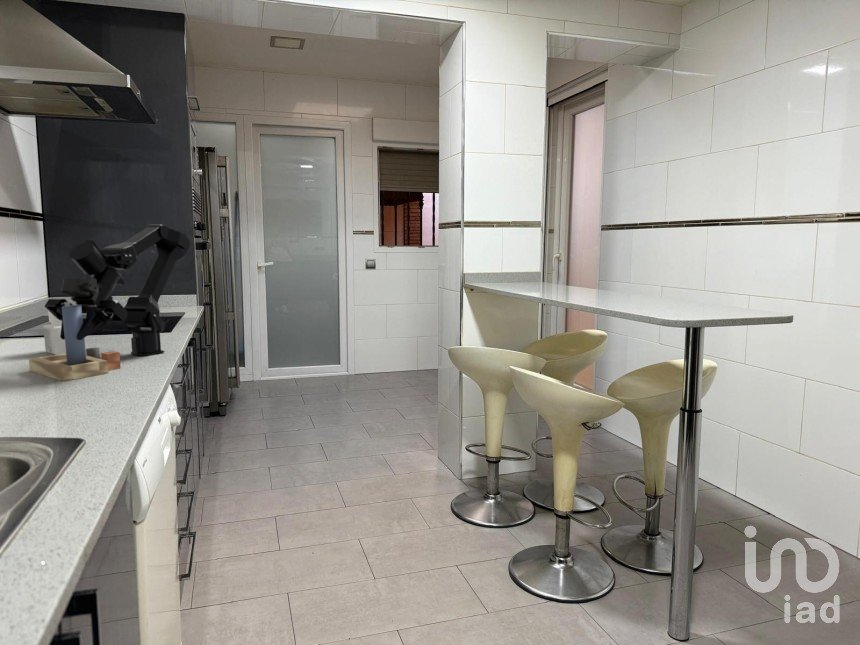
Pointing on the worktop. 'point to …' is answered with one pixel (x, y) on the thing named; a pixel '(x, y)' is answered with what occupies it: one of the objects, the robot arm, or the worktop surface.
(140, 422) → the worktop surface
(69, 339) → the blue-grey cylinder
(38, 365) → the socket board
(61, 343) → the container
